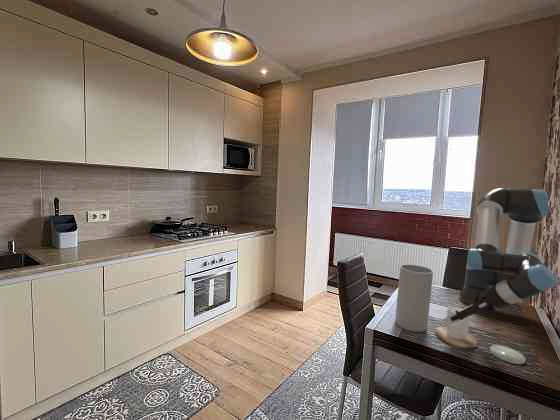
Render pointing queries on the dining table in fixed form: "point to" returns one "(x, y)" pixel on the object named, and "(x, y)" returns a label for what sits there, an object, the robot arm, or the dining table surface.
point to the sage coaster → (507, 354)
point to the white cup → (457, 325)
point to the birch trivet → (465, 343)
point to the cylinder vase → (413, 297)
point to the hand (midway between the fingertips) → (453, 318)
